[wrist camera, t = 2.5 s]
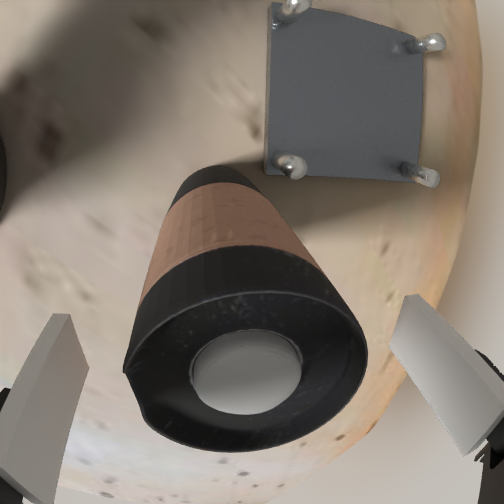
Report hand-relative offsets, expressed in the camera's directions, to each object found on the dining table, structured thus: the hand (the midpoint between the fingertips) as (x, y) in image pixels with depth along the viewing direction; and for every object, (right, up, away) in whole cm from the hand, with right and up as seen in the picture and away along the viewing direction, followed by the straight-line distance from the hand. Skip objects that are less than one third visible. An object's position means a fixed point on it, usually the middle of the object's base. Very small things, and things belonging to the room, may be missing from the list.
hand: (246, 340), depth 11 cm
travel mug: (-3, +7, +16) cm, 17 cm away
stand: (+9, +17, +13) cm, 23 cm away
